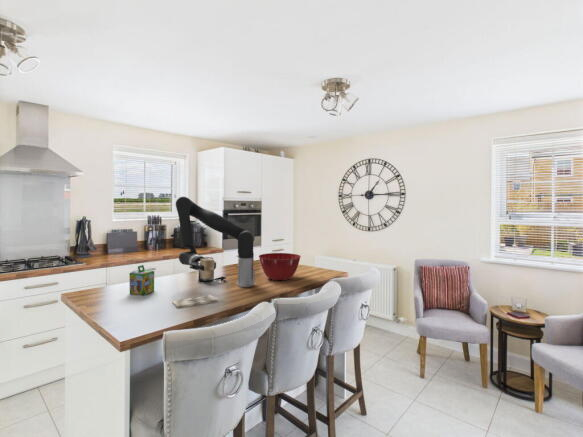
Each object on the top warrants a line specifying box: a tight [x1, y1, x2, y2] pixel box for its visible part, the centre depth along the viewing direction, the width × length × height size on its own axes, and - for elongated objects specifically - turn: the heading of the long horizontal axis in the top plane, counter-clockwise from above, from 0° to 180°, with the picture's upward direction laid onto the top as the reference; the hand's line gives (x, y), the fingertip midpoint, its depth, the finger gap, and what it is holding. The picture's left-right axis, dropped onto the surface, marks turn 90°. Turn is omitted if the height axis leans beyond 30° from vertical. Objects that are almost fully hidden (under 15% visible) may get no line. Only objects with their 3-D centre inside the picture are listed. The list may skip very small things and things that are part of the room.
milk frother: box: [197, 256, 227, 284], centre depth 196 cm, size 14×16×15 cm
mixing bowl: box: [258, 252, 302, 281], centre depth 208 cm, size 28×28×15 cm
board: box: [171, 294, 219, 309], centre depth 154 cm, size 20×9×1 cm, turn 126°
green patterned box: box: [129, 264, 155, 296], centre depth 167 cm, size 9×9×15 cm
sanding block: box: [200, 258, 215, 281], centre depth 156 cm, size 5×6×10 cm
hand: (209, 268), depth 154 cm, fingers closed on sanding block, 5 cm apart
